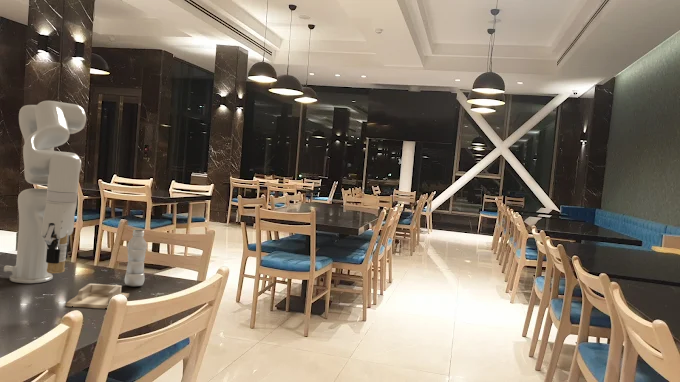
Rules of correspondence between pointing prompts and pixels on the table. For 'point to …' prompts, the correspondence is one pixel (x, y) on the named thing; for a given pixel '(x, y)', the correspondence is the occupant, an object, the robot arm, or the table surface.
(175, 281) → the table surface
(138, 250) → the plastic bottle
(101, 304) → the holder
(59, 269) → the sprinkles bottle
